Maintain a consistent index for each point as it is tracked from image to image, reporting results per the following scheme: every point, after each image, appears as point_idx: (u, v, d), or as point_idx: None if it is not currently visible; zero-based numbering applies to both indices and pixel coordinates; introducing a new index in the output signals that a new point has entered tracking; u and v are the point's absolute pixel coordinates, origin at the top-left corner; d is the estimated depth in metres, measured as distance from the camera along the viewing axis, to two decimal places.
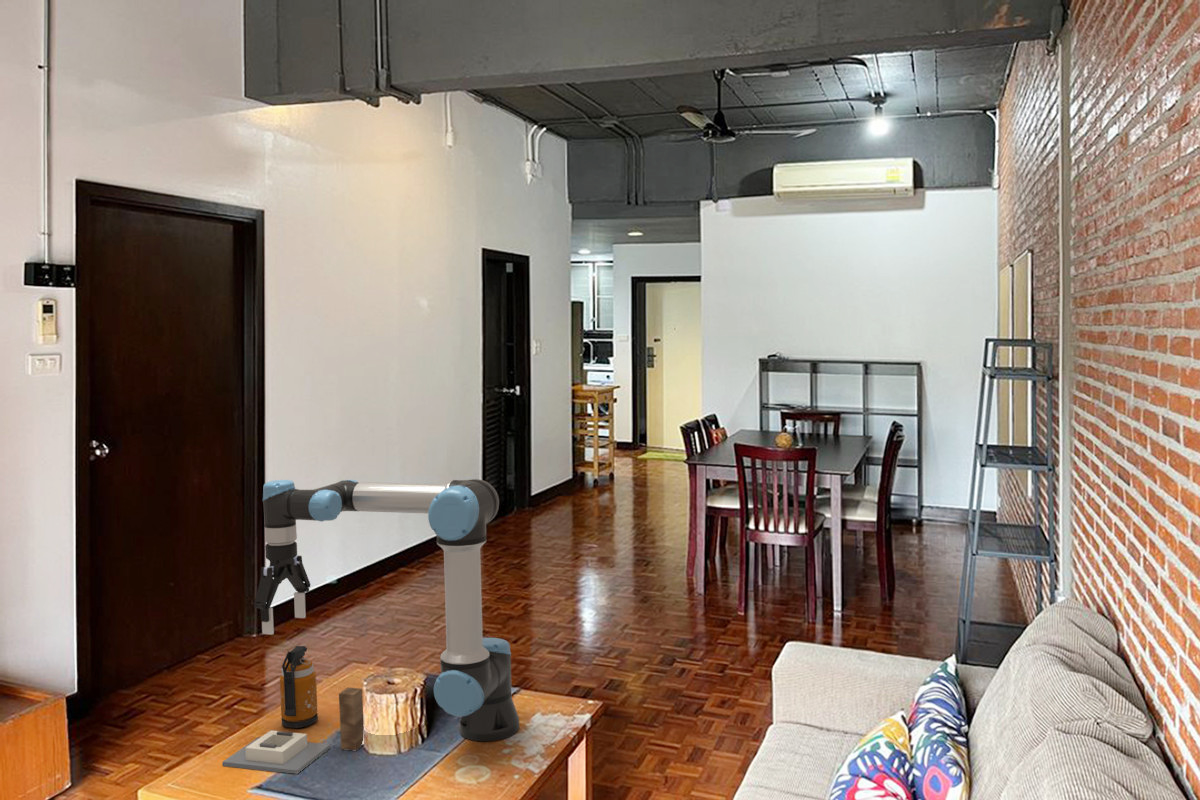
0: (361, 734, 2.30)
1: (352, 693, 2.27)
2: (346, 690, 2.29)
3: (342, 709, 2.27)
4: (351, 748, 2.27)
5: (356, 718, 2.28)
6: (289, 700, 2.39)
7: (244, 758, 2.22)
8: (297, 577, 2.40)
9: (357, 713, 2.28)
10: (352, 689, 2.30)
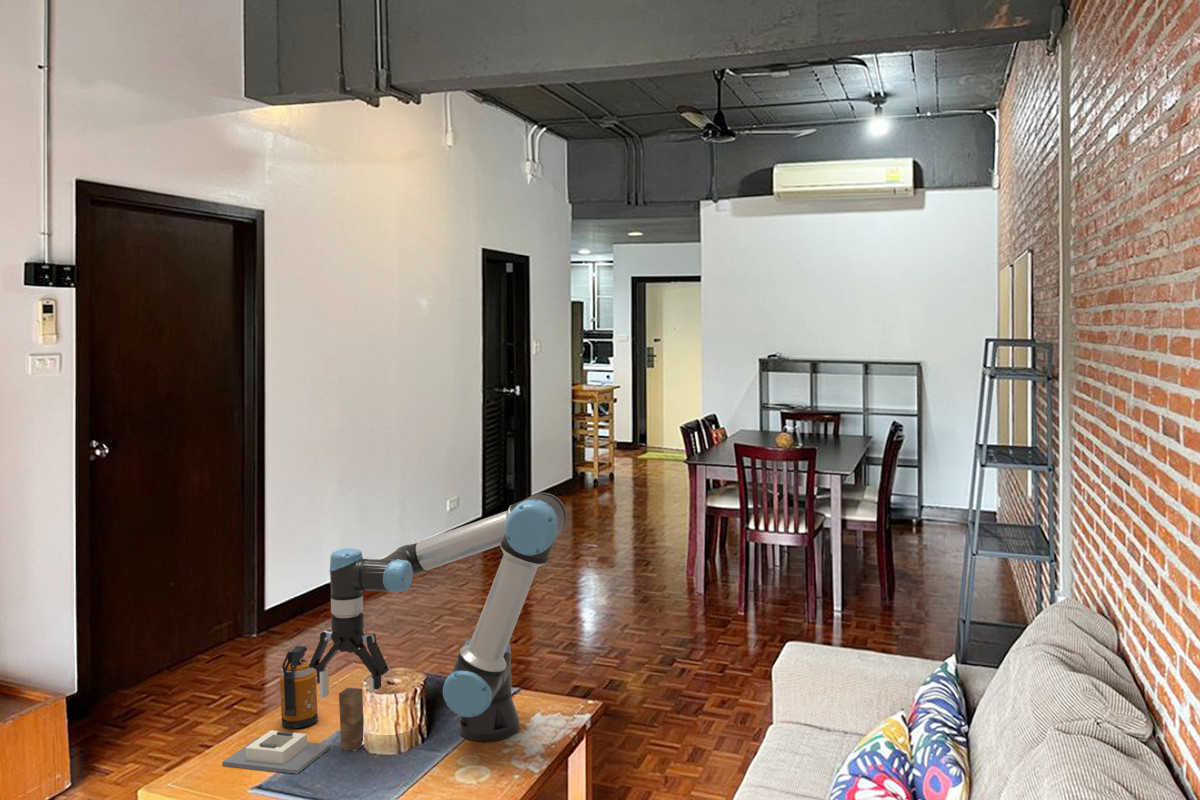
0: (361, 734, 2.30)
1: (352, 693, 2.27)
2: (346, 690, 2.29)
3: (342, 709, 2.27)
4: (351, 748, 2.27)
5: (356, 718, 2.28)
6: (289, 700, 2.39)
7: (244, 758, 2.22)
8: (362, 657, 2.26)
9: (357, 713, 2.28)
10: (353, 689, 2.30)
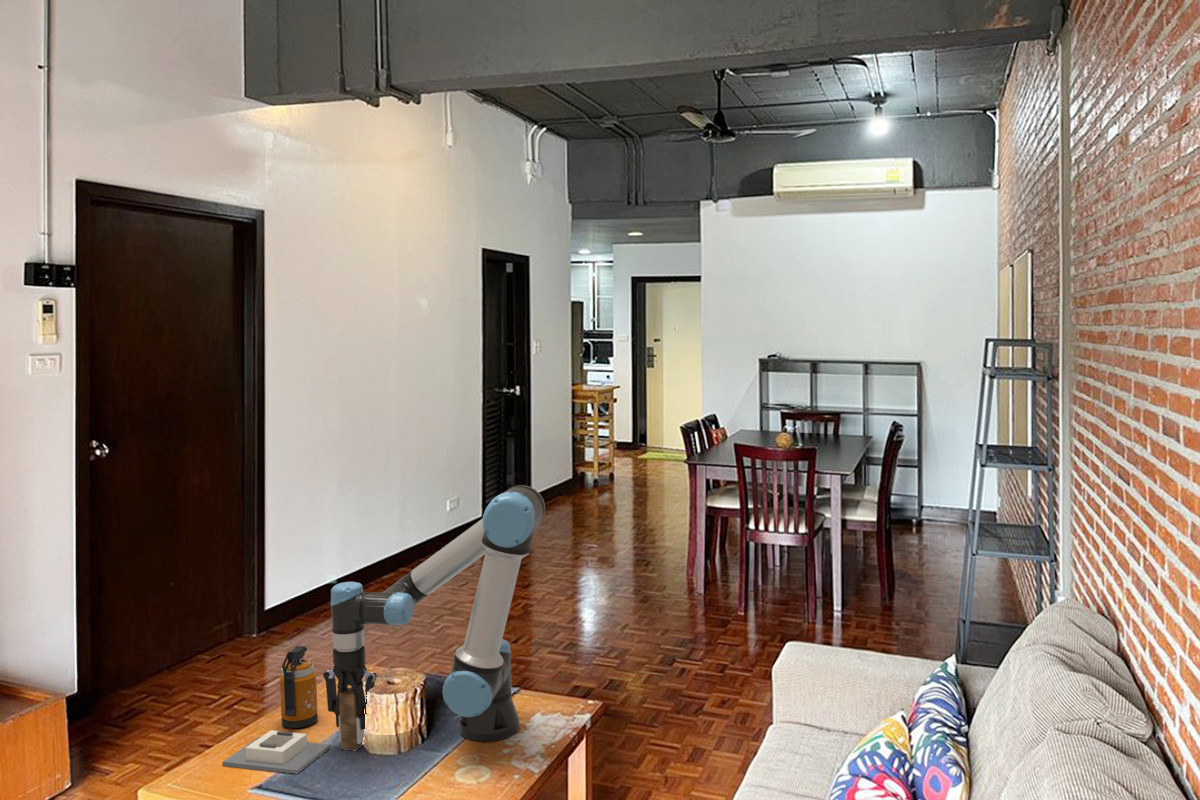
0: None
1: (352, 693, 2.27)
2: (346, 690, 2.29)
3: (342, 709, 2.27)
4: (351, 748, 2.27)
5: None
6: (289, 700, 2.39)
7: (244, 758, 2.22)
8: (356, 694, 2.27)
9: (357, 713, 2.28)
10: None
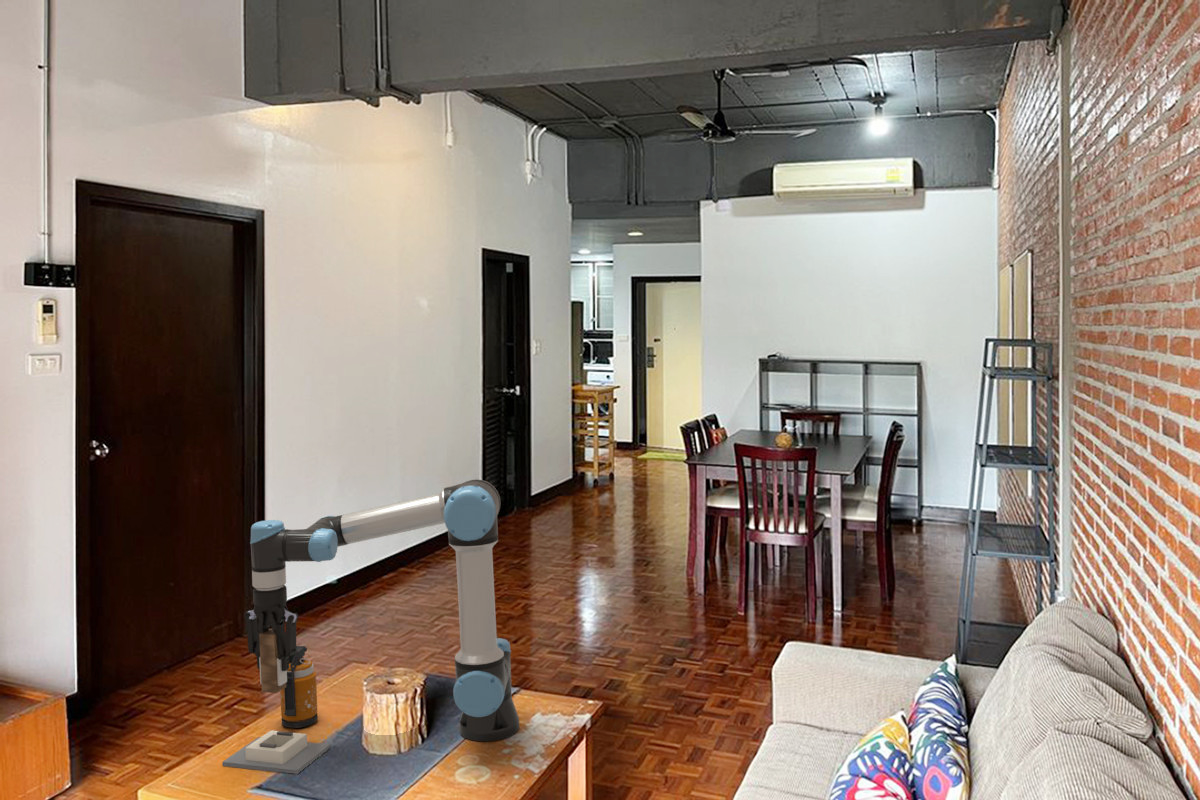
0: None
1: (273, 634, 2.21)
2: (267, 631, 2.23)
3: (262, 650, 2.22)
4: (272, 690, 2.22)
5: None
6: (289, 700, 2.39)
7: (244, 758, 2.22)
8: (277, 635, 2.21)
9: (278, 654, 2.22)
10: None
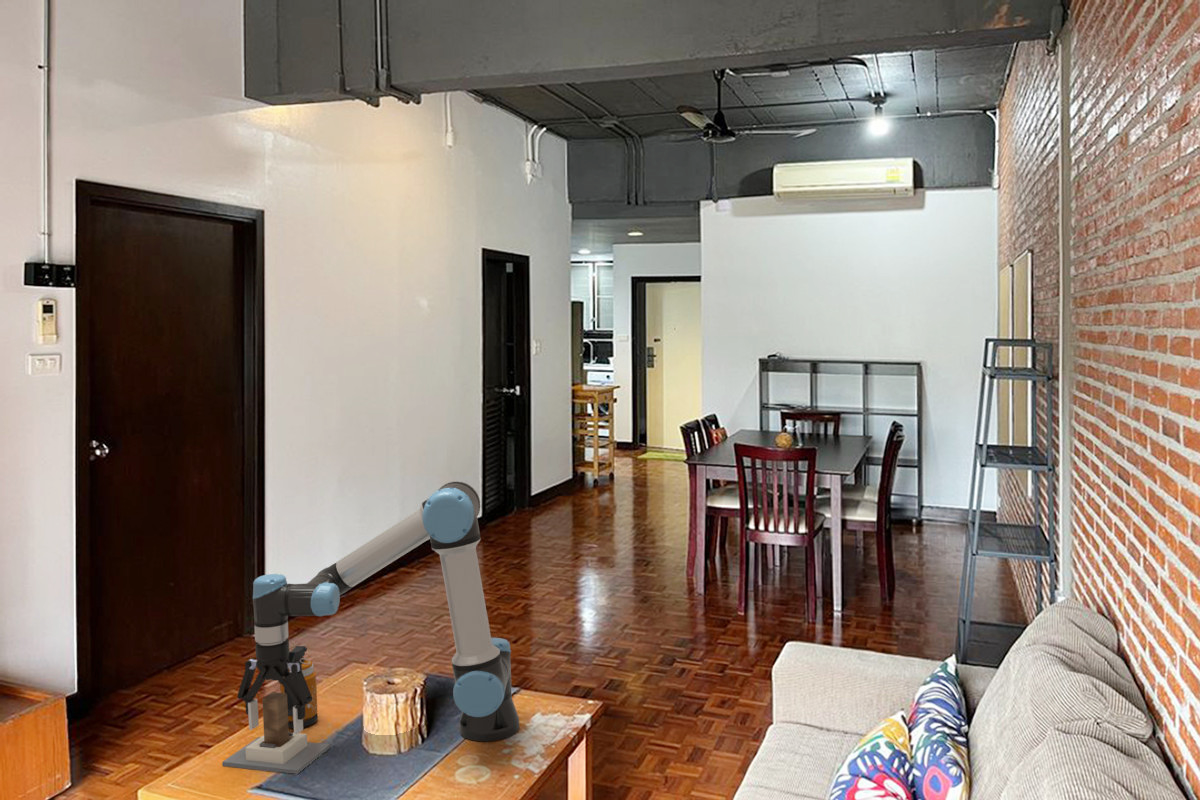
0: (286, 740, 2.25)
1: (276, 698, 2.22)
2: (270, 695, 2.24)
3: (265, 714, 2.23)
4: None
5: (280, 723, 2.23)
6: (289, 700, 2.39)
7: (244, 758, 2.22)
8: (286, 686, 2.21)
9: (281, 718, 2.23)
10: (277, 694, 2.25)
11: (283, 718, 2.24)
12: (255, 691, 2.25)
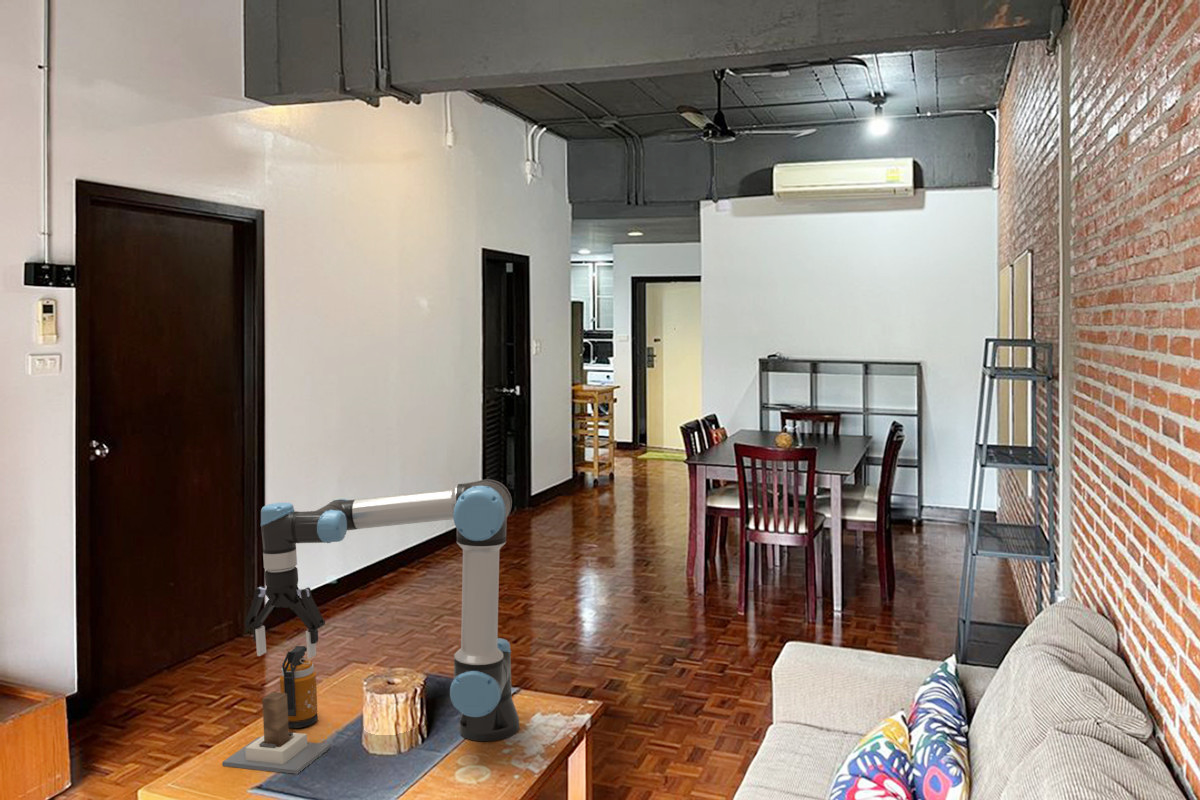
0: (286, 740, 2.25)
1: (276, 698, 2.22)
2: (270, 695, 2.24)
3: (265, 714, 2.23)
4: None
5: (280, 723, 2.23)
6: (289, 700, 2.39)
7: (244, 758, 2.22)
8: (297, 611, 2.22)
9: (281, 718, 2.23)
10: (277, 694, 2.25)
11: (283, 718, 2.24)
12: (263, 618, 2.26)
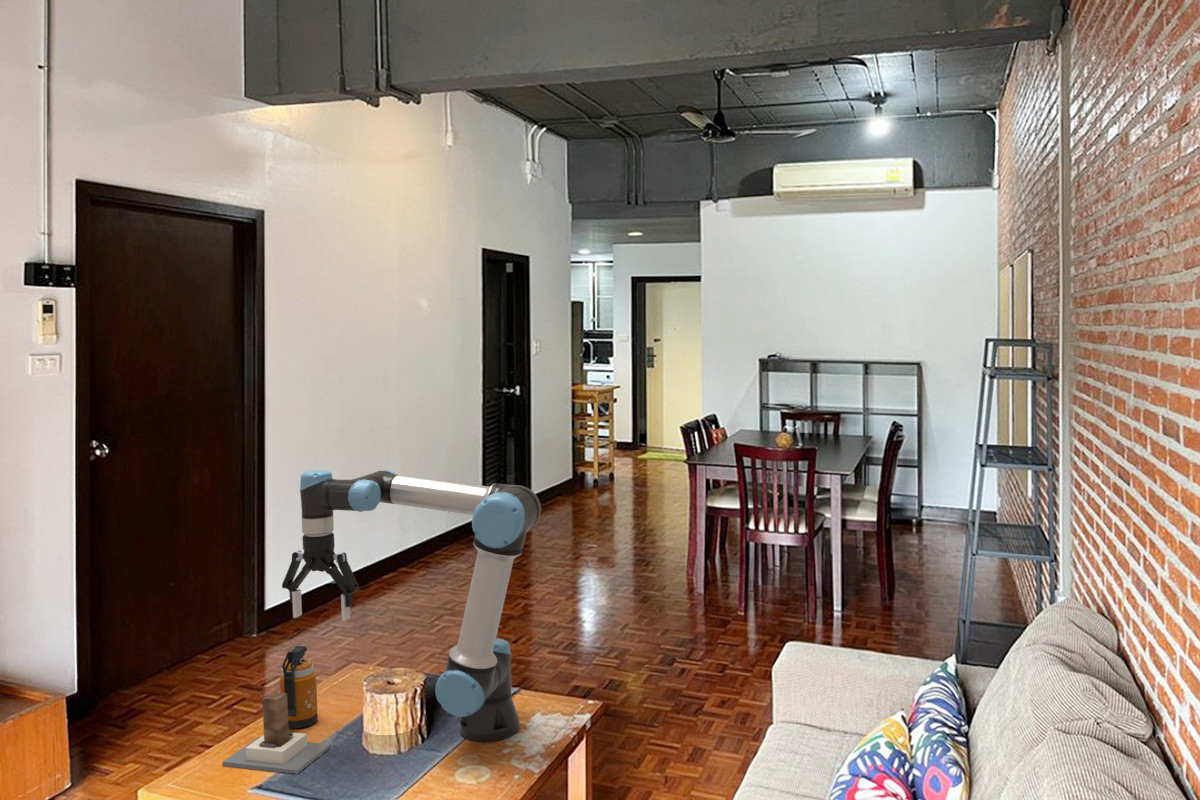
0: (286, 740, 2.25)
1: (276, 698, 2.22)
2: (270, 695, 2.24)
3: (265, 714, 2.23)
4: None
5: (280, 723, 2.23)
6: (289, 700, 2.39)
7: (244, 758, 2.22)
8: (333, 575, 2.30)
9: (281, 718, 2.23)
10: (277, 694, 2.25)
11: (283, 718, 2.24)
12: (299, 581, 2.33)
